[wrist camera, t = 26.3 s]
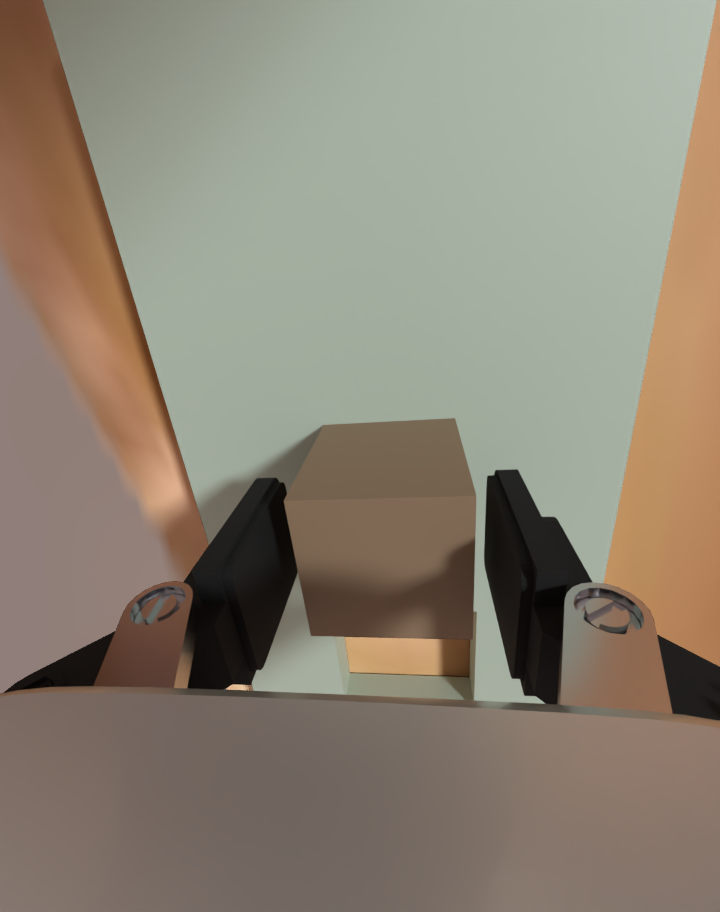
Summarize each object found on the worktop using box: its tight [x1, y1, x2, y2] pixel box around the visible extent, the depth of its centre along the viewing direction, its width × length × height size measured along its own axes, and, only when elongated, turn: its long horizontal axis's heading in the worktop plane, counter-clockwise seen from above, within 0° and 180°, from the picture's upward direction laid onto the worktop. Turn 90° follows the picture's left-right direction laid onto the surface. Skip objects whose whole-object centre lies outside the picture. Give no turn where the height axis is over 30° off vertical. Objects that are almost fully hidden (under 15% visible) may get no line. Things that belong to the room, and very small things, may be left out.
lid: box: [43, 0, 717, 704], centre depth 12 cm, size 14×26×6 cm, turn 5°
